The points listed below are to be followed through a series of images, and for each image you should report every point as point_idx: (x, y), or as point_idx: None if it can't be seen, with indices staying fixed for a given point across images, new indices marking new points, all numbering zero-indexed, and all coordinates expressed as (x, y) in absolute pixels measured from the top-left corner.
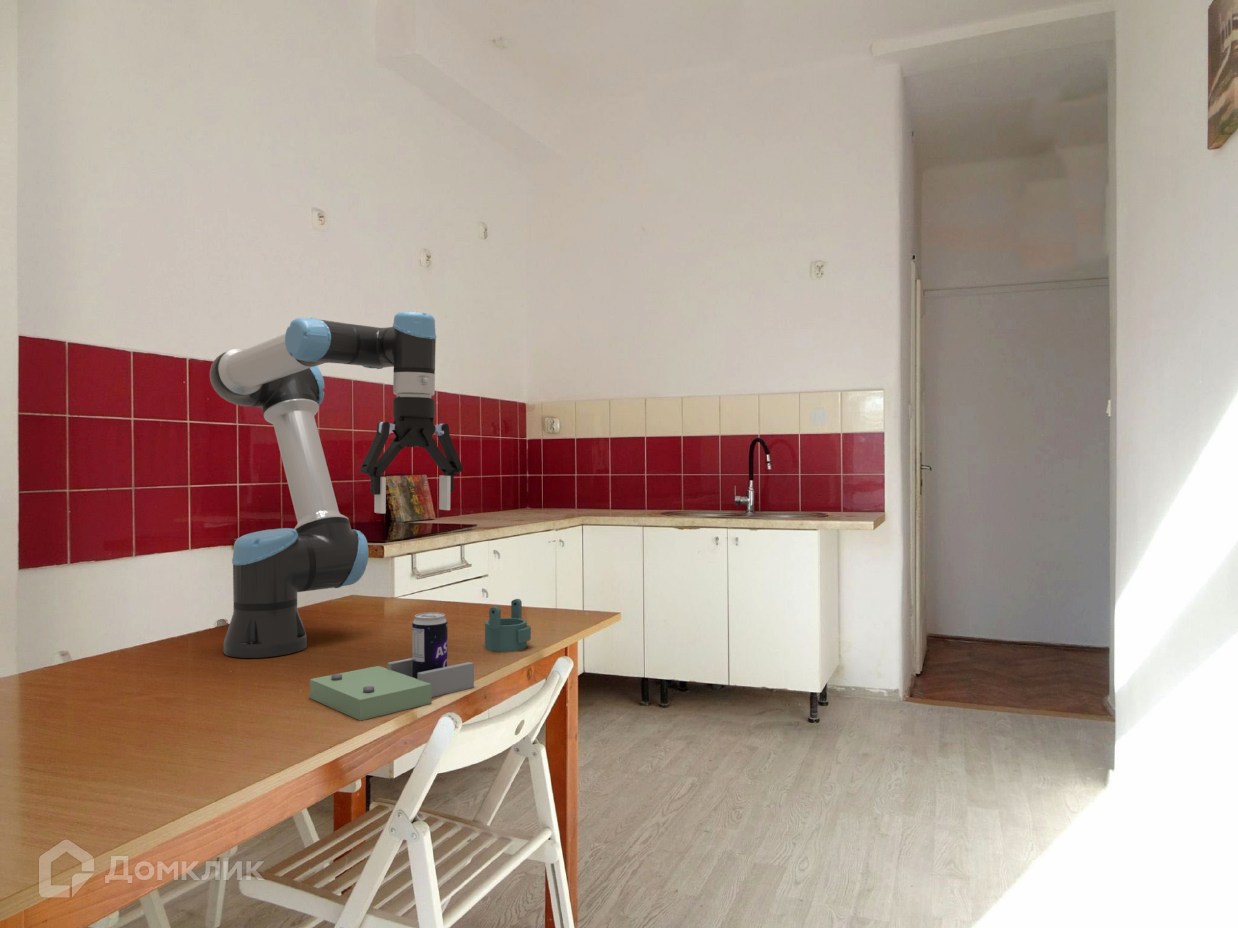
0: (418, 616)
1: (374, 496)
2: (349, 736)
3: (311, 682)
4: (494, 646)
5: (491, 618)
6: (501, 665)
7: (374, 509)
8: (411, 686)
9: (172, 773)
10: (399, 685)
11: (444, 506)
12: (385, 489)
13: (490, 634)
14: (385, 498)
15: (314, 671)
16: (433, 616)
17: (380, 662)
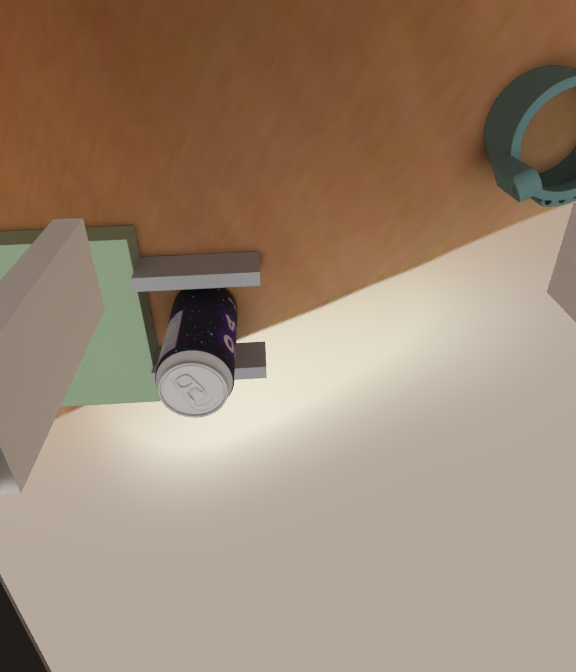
0: (168, 380)
1: (9, 270)
2: None
3: None
4: (490, 148)
5: (503, 179)
6: (399, 265)
7: (46, 229)
8: (126, 394)
9: None
10: (111, 379)
11: (567, 275)
12: (55, 411)
13: (500, 143)
14: (77, 364)
15: (29, 3)
16: (196, 400)
17: (212, 39)
